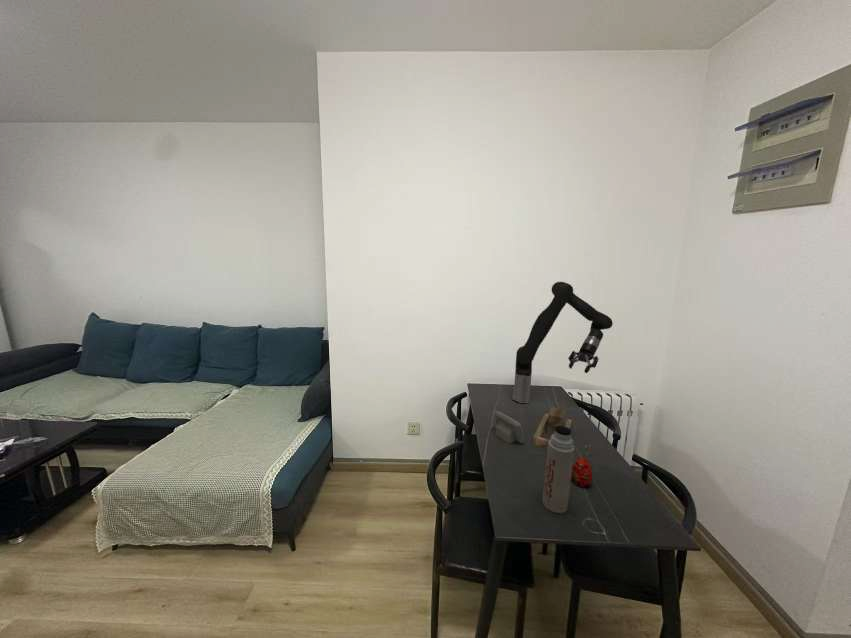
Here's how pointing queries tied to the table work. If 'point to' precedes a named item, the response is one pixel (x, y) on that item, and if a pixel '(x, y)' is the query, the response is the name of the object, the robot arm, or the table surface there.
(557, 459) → the thermos bottle
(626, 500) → the table surface
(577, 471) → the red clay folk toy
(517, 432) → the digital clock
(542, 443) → the chute
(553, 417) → the block
